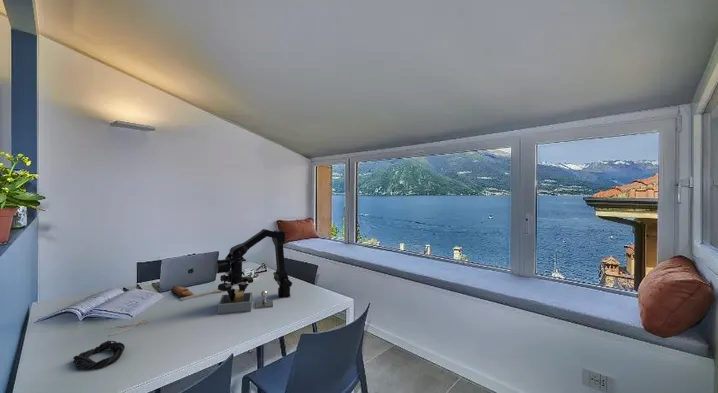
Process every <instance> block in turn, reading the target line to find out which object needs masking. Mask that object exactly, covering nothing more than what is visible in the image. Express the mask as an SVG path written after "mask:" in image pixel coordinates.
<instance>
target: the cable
mask: <svg viewBox="0 0 718 393" xmlns="http://www.w3.org/2000/svg"><path fill="white" fill-rule="evenodd" d="M110 349H111V350H110ZM125 349H126V347H125V344H124V343H122V342H121V341H119V342H117V341H115V340H106V341H104V342H102V343H100V345H99V346H97V345H96V346H94V347H93V348H91V349H89V350H86V351H83V352H80V353H79V354H78V355H75V356H73V360H74V361H73V364H75V365H74V367H75V368H76V369H77V370H79V369H80V370H81V369H83V370H99V369H103V368H104V367H107V366H110V365H112V364H114V363H116V362H117V361H118V360H119V359H120V358H121V357H122V355H123V352H124V351H125ZM106 350H110V351H111V352H112V353H113V354H112V355H111V356H109V357H106V358H102V359H101V360H99V361H95V360H93V359H92V358H90V357H91V356H92V355H91V354H93V355H95V354H97V353H99V352H98V351H101V352H104V351H106ZM76 362H77V363H76Z"/></svg>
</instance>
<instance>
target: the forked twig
mask: <svg viewBox="0 0 718 393" xmlns="http://www.w3.org/2000/svg"><path fill="white" fill-rule="evenodd" d="M149 322H150V320H148V318H144V319H141V320H137V321H134V323H126V324H118V325H113V326H112V325H111V326H109V327H106V328H105V330H108V329H107V328H110V329H113V328H112V327H115V328H123V329H121V330H120V331H119V330H118V331H117V332H114V333H111V334H110V333H109V334H108V335H107V336H108V337H110V336H109V335H112V336H115V335H114V334H116V335H119V334H121V333H120V332H122V333H124V331H125V332H127V330H128V331H130V330H131V329H133V328H135V326H136V327H138V325H140V326H143V325H142V324H144V325H147V323H148V324H150V323H149ZM125 328H126V329H125ZM129 329H130V330H129ZM118 333H119V334H118Z"/></svg>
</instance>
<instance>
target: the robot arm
mask: <svg viewBox="0 0 718 393" xmlns="http://www.w3.org/2000/svg"><path fill="white" fill-rule="evenodd" d="M265 238H271V240H272V243H273V245H274V250H275V262H276V264H275V266H276V271H274V272H273V280H274V281H275V282H276V284H277V285H278V288H277V296H278V298H290V297H291V287H292V286H293V282H292V281H291V280H290V279H289V276H288V272H287V270H286V268H285V267H286V266H285V254H284V253H285V252H284V243H285V241H286V233H285V232H284V231H282V230H270V229H269V230H268V229H266V228H262V229H261V230H260V231H259V232H257V233H256V234H254V235H253V236H251V237H250V238H249V239H247V240H245V241H244V242H242V243H238V244H236V245H234V246H231V248H230V249H229V252H228V254H227V255H226V257H225V258H224V259H216V262H215V264H214V272H215V274H222V273H228V274H227V275H226V274H223V275H220V282H222V283H219V284H218V285H217V289H218V290H221V291H225V292H227V294H229V297H230V299H231V301H233V299H234V292H235V290H236V288H234V287H235V286H238V289H239V290H243V291H244V292H245V291H246V290H247V288H248V286H249V285H250V284H252V283H254V278H253V277H252V276H248V275H246V276H243V274H244V273H245V272H244V271H243V262H247V259H246V258H244V256H245V255H246V253H247V252H248V251H249V250H250V249H251V248H252V247H254V246H255V245H257V244H258V243H259V242H261V241H262V240H264V239H265Z"/></svg>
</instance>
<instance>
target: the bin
mask: <svg viewBox="0 0 718 393" xmlns="http://www.w3.org/2000/svg"><path fill="white" fill-rule="evenodd" d="M252 304H253V292H244V301H242V302H239V303H230V302H229V294H228V293H227V294H222V296H221V297H220V299H219V302H218V305H217V315H220V316H221V315H228V314H239V313H247V312H248V313H250V312H251V311H252Z"/></svg>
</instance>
